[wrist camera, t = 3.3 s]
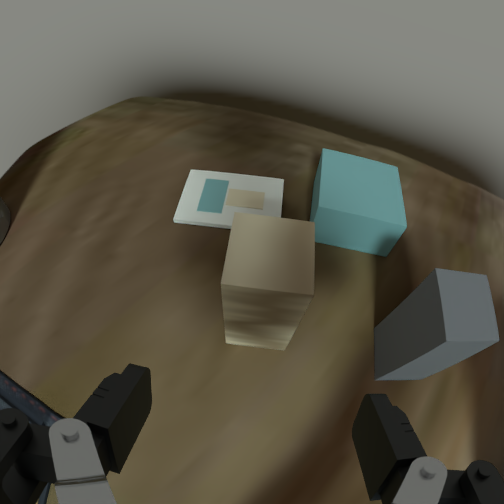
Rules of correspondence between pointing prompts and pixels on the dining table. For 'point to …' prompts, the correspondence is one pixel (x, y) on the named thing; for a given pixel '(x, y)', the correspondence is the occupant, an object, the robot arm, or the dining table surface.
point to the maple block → (267, 279)
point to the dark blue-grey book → (27, 411)
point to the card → (227, 198)
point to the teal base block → (357, 203)
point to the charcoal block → (436, 326)
